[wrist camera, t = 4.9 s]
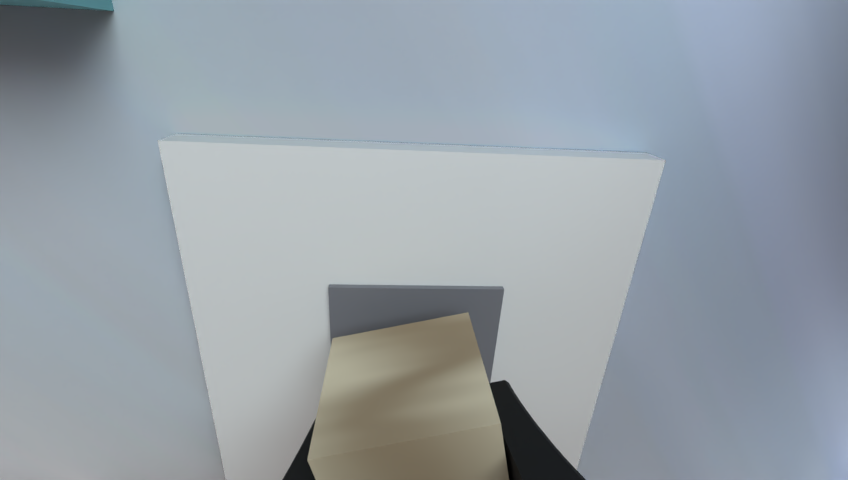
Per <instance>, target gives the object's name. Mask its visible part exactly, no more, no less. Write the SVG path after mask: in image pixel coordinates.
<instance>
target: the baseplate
mask: <svg viewBox="0 0 848 480" xmlns="http://www.w3.org/2000/svg"><path fill="white" fill-rule="evenodd" d="M158 144H159V149H160V154H161V159H162V164H163V169H164V174H165V179H166V184H167V189H168V194H169V199H170V204H171V209H172V214H173V219H174V224H175V229H176V234H177V239H178V244H179V249H180V254H181V259H182V264H183V269H184V274H185V279H186V284H187V289H188V294H189V299H190V304H191V309H192V314H193V319H194V324H195V329H196V334H197V339H198V344H199V349H200V354H201V359H202V364H203V369H204V374H205V379H206V384H207V389H208V394H209V399H210V404H211V409H212V414H213V419H214V424H215V429H216V434H217V439H218V444H219V449H220V454H221V459H222V464H223V469H224V474H225V479H226V480H282V479H283V478H284V476H285V474H286V472H287V471H288V469H289V467H290V465H291V464H292V462H293V460H294V458H295V456H296V454H297V453H298V451H299V449H300V447H301V445H302V443H303V441H304V440H305V438H306V436H307V434H308V432H309V430H310V428H311V426H312V424H313V422H314V420H315V419H316V415H317V411H318V406H319V401H320V396H321V392H322V387H323V382H324V377H325V372H326V368H327V363H328V358H329V353H330V348H331V344H332V339H333V338H337V337H342V336H347V335H352V334H358V333H363V332H368V331H373V330H378V329H384V328H389V327H394V326H399V325H405V324H410V323H415V322H420V321H425V320H431V319H436V318H441V317H446V316H452V315H457V314H462V313H467V312H468V313H469V316H470V320H471V323H472V327H473V330H474V333H475V337H476V340H477V344H478V347H479V350H480V354H481V357H482V361H483V364H484V367H485V371H486V374H487V378H488V381H489V383H492V382H497V381H502V380H506V381H507V382H509V384H510V385H511V387H512V389H513V391H514V392H515V394H516V395H517V397H518V398H519V400H520V401H521V403H522V404H523V406H524V407H525V409H526V410H527V411H528V413H529V414H530V415H531V417H532V418H533V420H534V421H535V422H536V423H537V425H538V426H539V427H540V428H541V430H542V431H543V432H544V433H545V435H546V436H547V437H548V438H549V439H550V441H551V442H552V443H553V444H554V446H555V447H556V448H557V449H558V450H559V451H560V452H561V454H562V455H563V456H564V457H565V458H566V459H567V460H568V461H569V462H570V464H571V465H572V466H573V467H574V468H575V469H576V470H577V467H578V464H579V460H580V457H581V453H582V450H583V446H584V443H585V439H586V436H587V432H588V429H589V426H590V422H591V419H592V415H593V412H594V408H595V405H596V401H597V398H598V394H599V391H600V387H601V384H602V380H603V377H604V373H605V370H606V366H607V363H608V359H609V356H610V352H611V349H612V345H613V342H614V338H615V335H616V332H617V328H618V325H619V321H620V318H621V314H622V311H623V307H624V304H625V300H626V297H627V293H628V290H629V286H630V283H631V279H632V276H633V272H634V269H635V265H636V262H637V258H638V255H639V251H640V248H641V245H642V241H643V238H644V234H645V231H646V227H647V224H648V220H649V217H650V213H651V210H652V206H653V203H654V199H655V196H656V192H657V189H658V185H659V182H660V178H661V175H662V171H663V168H664V164H665V161H666V160H664V159H661V158H659V157H656V156H654V155H651V154H648V153H639V152H614V151H590V150H565V149H540V148H515V147H490V146H465V145H440V144H415V143H391V142H366V141H341V140H316V139H291V138H266V137H241V136H216V135H192V134H174V135H171V136H169V137H166V138H163V139H161V140H158Z"/></svg>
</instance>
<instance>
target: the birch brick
mask: <svg viewBox="0 0 848 480" xmlns="http://www.w3.org/2000/svg"><path fill="white" fill-rule="evenodd" d="M307 461H308V463H309V465H310V468H311V470H312V472H313V475H314V477H315V479H316V480H509V476H508V469H507V462H506V455H505V448H504V441H503V434H502V427H501V422H500V418H499V415H498V412H497V408H496V405H495V401H494V398H493V395H492V391H491V388H490V384H489V381H488V378H487V374H486V371H485V367H484V364H483V361H482V357H481V354H480V350H479V347H478V344H477V340H476V337H475V333H474V330H473V327H472V323H471V320H470V316H469V313H468V312H467V313H462V314H457V315H452V316H446V317H441V318H436V319H431V320H425V321H420V322H415V323H410V324H405V325H399V326H394V327H389V328H384V329H378V330H373V331H368V332H363V333H358V334H352V335H347V336H342V337H337V338H333V339H332V344H331V348H330V353H329V358H328V363H327V368H326V372H325V377H324V382H323V387H322V392H321V396H320V401H319V406H318V411H317V415H316V420H315V425H314V430H313V435H312V439H311V444H310V449H309V454H308V459H307Z"/></svg>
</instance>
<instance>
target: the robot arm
mask: <svg viewBox="0 0 848 480" xmlns="http://www.w3.org/2000/svg"><path fill="white" fill-rule="evenodd" d="M489 384H490V388H491V391H492V395H493V398H494V401H495V405H496V408H497V412H498V415H499V418H500V422H501V427H502V434H503V441H504V448H505V455H506V462H507V469H508V476H509V480H585V479H584V477H583V476H582V475H581V474H580V473H579V472H578V471H577V470H576V469H575V468H574V467H573V466H572V465H571V464H570V462H569V461H568V460H567V459H566V458H565V457H564V456H563V455H562V454H561V452H560V451H559V450H558V449H557V448H556V447H555V446H554V444H553V443H552V442H551V441H550V439H549V438H548V437H547V436H546V435H545V433H544V432H543V431H542V430H541V428H540V427H539V426H538V425H537V423H536V422H535V421H534V420H533V418H532V417H531V415H530V414H529V413H528V411H527V410H526V409H525V407H524V406H523V404H522V403H521V401H520V400H519V398H518V397H517V395H516V394H515V392H514V391H513V389H512V387H511V385H510V384H509V382H507V381H506V380H502V381H497V382H492V383H489ZM315 420H316V419H315ZM315 420H314V422H313V424H312V426H311V428H310V430H309V432H308V434H307V436H306V438H305V440H304V441H303V443H302V445H301V447H300V449H299V451H298V453H297V454H296V456H295V458H294V460H293V462H292V464H291V465H290V467H289V469H288V471H287V472H286V474H285V476H284V478H283V479H282V480H316V479H315V477H314V475H313V472H312V470H311V468H310V465H309V463H308V461H307V459H308V454H309V449H310V444H311V439H312V435H313V430H314V425H315Z"/></svg>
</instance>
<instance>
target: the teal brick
mask: <svg viewBox="0 0 848 480" xmlns="http://www.w3.org/2000/svg"><path fill="white" fill-rule="evenodd" d="M0 5H15V6H33V7H51V8H69V9H87V10H104V11H114V9H113V4H112V0H0Z"/></svg>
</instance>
